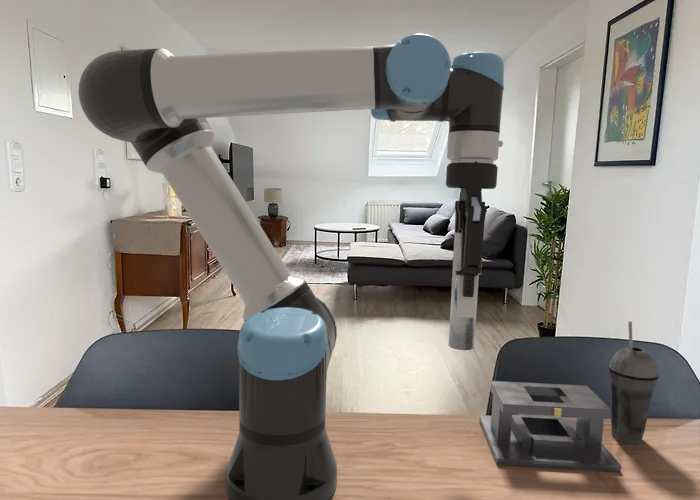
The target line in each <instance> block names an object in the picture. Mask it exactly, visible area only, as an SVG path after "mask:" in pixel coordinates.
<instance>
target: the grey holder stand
mask: <svg viewBox="0 0 700 500" xmlns="http://www.w3.org/2000/svg"><path fill="white" fill-rule="evenodd" d="M489 390H490V392H491V394H492V403H491V415H479V420H478V421H479V423H480V426H481V428H482V431H483V434H484V436H485V438H486V441H487V444H488V445H489V449H490V451H491V453H492V456H493V459H494V461H495V463H496V465H498V466H499V465H500V466H502V465H503V466H515V467H533V468H534V467H535V468H547V469H567V470H580V471H581V470H582V471H583V470H584V471H585V470H586V471H597V472H600V471H601V472H610V473H611V472H614V473H622V465H621V463H620V462H619V461H618V460H617V458H616V457H615V456H614V455H613V454H612V453H611V452H610V451H609V450H608V448H607V447H606V446H605V444H604V443H603V435H604V434H603V432H604V423H605V422H604V421H605V420H611V407H609V406H608V405H607V404H606V402H604V401H603V399H601V398H600V397H599V396H598V395H597V394H596V393H595V392H594V391H593V390H592V388H590V387H589V386H588V385H579V384H578V385H577V384H560V383H559V384H558V383H542V382H541V383H538V382H522V381H521V382H519V381H498V380H490V388H489ZM531 396H544V397H559V398H560V400H561V401H563V402H555V401H554V402H553V401H552V402H551V401H534V400H533V398H532V397H531ZM566 417H568V418H576V420H572V419H571V420H569V419H567V418H566Z"/></svg>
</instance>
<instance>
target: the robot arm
mask: <svg viewBox="0 0 700 500" xmlns="http://www.w3.org/2000/svg"><path fill="white" fill-rule="evenodd" d="M451 63H452V64H451ZM504 72H505V71H504V61H503V59H502V58H501V56H500V55H498V54H497V53H492V52H487V51H475V52H466V53H465V52H464V53H461V54H458V55H457V56H455V57H454V58H453V60H452V62H451V58H450V55H449V52H448V50H447V48H446V47H445V45H444V44H443V43H442V42H441V41H440V40H439V39H438V38H436V37H434V36H433V35H429V34H426V33H414V34H410V35H407V36H405V37H403V38H402V39H400V41H397V42H396V43H395V44H384V45H372V46H354V47H349V46H348V47H335V48H332V47H331V48H313V49H296V50H295V49H292V50H279V51H278V50H277V51H276V50H275V51H258V52H257V51H256V52H254V51H253V52H237V53H236V52H235V53H219V54H218V53H217V54H198V55H196V54H195V55H179V56H175V55H174V54H173V53H171V52H170V51H169V50H168V49H166V48H163V47H162V48H161V47H160V48H159V47H158V48H147V49H146V48H145V49H123V50H122V49H121V50H114V51H113V50H112V51H109V52H106V53H102V54H101V55H98V56H97V57H95V58H94V59H93V60H91V61H90V62H89V63H88V64H87V65H86V67H85V68H84V70H83V72H82V73H81V76H80V79H79V82H78V91H77V93H78V98H79V99H78V100H79V103H80V106H81V110H82V111H83V113H84V115H85V117H86V118H87V120H88V121H89V122H90V123H91V124H92V125H93V127H94V128H95V129H97V130H98V131H99V132H101V133H103V134H105V135H106V136H108V137H110V138H111V139H115V140H118V141H123V142H127V143H130V144H131V145H132V147H133V148H134V150H135V152H136V153H137V154H138V156H139V158H140V159H141V161H142V162H143V163H144V166H145V167H146V168H147V170H148V171H150V172H155V173H158V174H160V175H163V176H164V178H165V180H166V181H167V183H168V184H169V186H170V187H171V189H172V191H173V192H174V194H175V195H176V197H177V199H178V200H179V202H180V203H181V205H182V207H183V208H184V210H185V211H186V213H187V214H188V216H189V218H190V219H191V220H192V222H193V224H194V226H195V227H196V229H197V230H198V231H199V233H200V235H201V236H202V238H203V240H204V241H205V243H206V245H208V248H209V249H210V251H211V253H212V254H213V255H214V257H215V258H216V260H217V261H218V264H220V267H221V268H222V270H223V271H224V272H225V275H226V276H227V278H228V279H229V281H230V282H231V283H232V285H233V287H234V289H235V290H236V292H237V293H238V295H239V296H240V298H241V300H242V301H243V302H244V310H243V314H242V320H243V321H244V322H243V323H242V325H241V327H240V329H239V334H238V335H239V336H238V340H237V341H238V342H237V346H236V347H237V351H236V352H237V358H238V408H239V409H238V414H239V415H238V416H239V418H238V423H239V424H238V425H239V426H238V427H239V432H238V436H237V437H236V441H235V444H234V447H233V450H232V453H231V457H230V459H229V462H228V465H227V468H226V476H225V477H226V478H225V481H226V482H225V483H226V484H225V485H226V490H225V491H226V494H227V497H228V499H229V500H330V499H331V498H332V496H333V494H334V493H335V492H336V489H337V485H338V465H337V461H336V457H335V454H334V451H333V449H332V446H331V445H332V444H331V442H330V438H329V436H328V432H327V430H326V415H327V414H326V413H327V412H326V411H327V410H326V408H327V407H326V403H327V375H328V374H327V373H328V370H329V365H330V362H331V358H332V355H333V352H334V349H335V346H336V343H337V337H338V335H337V334H338V333H337V329H338V328H337V325H336V319H335V317H334V315H333V314H334V313H333V312H332V310H331V309H330V308H329V306H328V305H327V304H326V303H325V301H323V300H321V299H320V298H318V297H316V295H315V294H314V292H313V291H312V289H311V287H310V285H309V284H308V283H307V281H306V280H305V278H301V277H297V276H294V275H292V274H291V273H290V271H289V269H288V268H287V267H286V265H285V263H284V261H283V260H282V258H281V257H280V255H279V253H278V252H277V250H276V249H275V247H274V246H273V244H272V242H271V240H270V238H268V236H267V234H266V232H265V230H264V229H263V228H262V226H261V225H260V222H259V221H258V219H257V218H256V216H255V214H254V213H253V211H252V210H251V208H250V206H249V205H248V203H247V202H246V200H245V199H244V196H243V195H242V194H241V192H240V191H239V188H238V187H237V186H236V184H235V182H234V181H233V179H232V178H231V176H230V175H229V173H228V171H227V170H226V168H225V166H224V164H223V163H222V161H221V160H220V158H219V157H218V155H217V154H216V152H215V150H214V148H213V143H214V140H215V136H216V135H215V131H214V130H213V128H212V127H211V126H210V124H209V122H208V120H207V119H206V118H224V117H225V118H226V117H228V118H229V117H244V116H245V117H247V116H264V115H265V116H266V115H283V114H285V115H286V114H302V113H318V112H319V113H322V112H338V111H339V112H341V111H355V110H356V111H358V110H359V111H360V110H370V113H371V117H372V118H373V119H375V120H378V121H379V120H380V121H381V120H382V121H390V122H393V123H394V122H397V121H398V122H403V121H404V122H408V121H409V122H419V121H420V122H442V123H443V122H448V133H447V147H446V149H447V150H446V151H447V153H446V159H447V160H449V161H450V163H448V165H446V174H445V179H446V180H445V186H446V187H447V188H449V189H460V191H459V198H458V199H457V200H455V202H454V210H455V211H454V213H455V214H454V215H455V217H454V218H455V219H454V234H453V235H454V237H453V240H454V239H455V233H456V232H462V238H461V270H460V271H456V275H459V276H458V293H457V310H456V316H457V317H469V318H475V307H476V291H477V276H478V274H480V273H481V274H482V268H481V263H482V264H483V249H484V246H483V245H484V236H485V235H484V233H485V232H484V231H485V222H486V216H487V215H486V214H487V212H488V209H487V207H486V202H485V201H483V196H482V195H483V194H482V190H493V189H496V187H497V181H498V170H499V169H498V165H497V164H496V163H494V162H495V161H497V160H498V159H499V148H502V147H503V144H504V142H503V140H499V139H500V132H501V131H500V130H501V117H502V108H503V107H502V106H503V105H502V104H503V98H504V97H503V95H504V91H505V86H504V78H505V77H504ZM453 257H454V252H453V255H452V258H453Z"/></svg>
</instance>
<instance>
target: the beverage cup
mask: <svg viewBox="0 0 700 500" xmlns="http://www.w3.org/2000/svg"><path fill="white" fill-rule="evenodd" d="M633 345H634V343H633V322H632V321H628V347H624V348H621V349H619V350H617V352H615V353H614V355H613V356H612V358H611V360H610V363H609V365H608V370H609V371H608V372H609V380H610V409H611V417H610V427H611V436H612V437H613V438H614V439H616V440H618V441H620V442H623V443H625V444H631V445H637V444H639V445H640V444H641V443H642V441H643V438H644V433H645V431H646V425H647V422H648V421H647V420H648V416H649V412H650V406H651V404H652V403H651V402H652V397H653V392H654V390H655V388H656V384H657V382H658V380H659V377H660V375H659V369H658V365H657V362H656V361H655V359H654V357H653V356H652V355H651V354H650V353H649V351H648V352H647V351H646V350H644V349H642V348H640V347H636V346H633Z"/></svg>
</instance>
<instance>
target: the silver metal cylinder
mask: <svg viewBox="0 0 700 500" xmlns="http://www.w3.org/2000/svg"><path fill="white" fill-rule="evenodd" d="M454 233H455V232H454ZM461 238H462V232H456V233H455V239H454V238H453V241H454V242H453V253H454V257H453V256H452V278H451V293H450V294H451V296H450V312H449V313H450V314H449V328H448V329H449V330H448V344H447V345H448V347H450V348H451V349H455V350H456V351H457V350H458V351H470V350H474V348H475V341H476V340H475V338H476V326H477V325H476V324H477V323H476V322H477V310H478V309H477V307H478V294H479V279H480V278H479V275H482V272H481V273H480V274H478V276H477V291H476V307H475V318H469V317H457V316H456V310H457V293H458V276H459V275H456V271H460V270H461ZM482 266H483V262H482V263H481V269H482V268H483V267H482Z"/></svg>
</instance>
